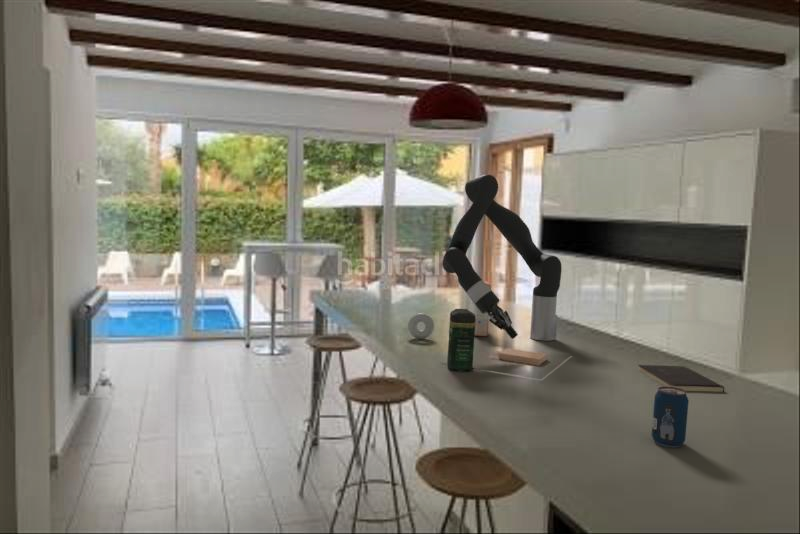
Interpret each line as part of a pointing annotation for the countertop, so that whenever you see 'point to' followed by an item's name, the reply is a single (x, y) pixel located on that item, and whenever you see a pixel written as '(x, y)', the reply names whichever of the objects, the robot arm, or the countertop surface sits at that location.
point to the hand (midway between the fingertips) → (515, 336)
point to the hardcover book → (680, 378)
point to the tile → (522, 356)
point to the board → (495, 357)
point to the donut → (415, 320)
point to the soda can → (670, 416)
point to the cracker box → (480, 319)
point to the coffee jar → (461, 340)
